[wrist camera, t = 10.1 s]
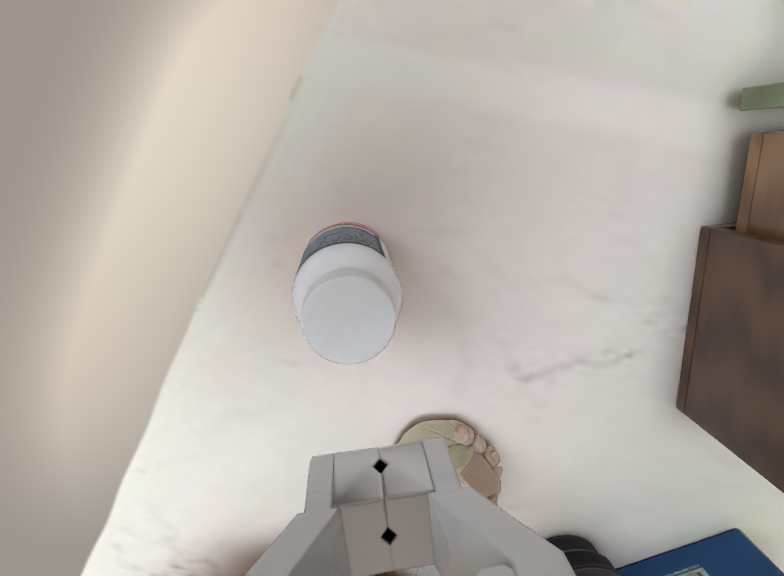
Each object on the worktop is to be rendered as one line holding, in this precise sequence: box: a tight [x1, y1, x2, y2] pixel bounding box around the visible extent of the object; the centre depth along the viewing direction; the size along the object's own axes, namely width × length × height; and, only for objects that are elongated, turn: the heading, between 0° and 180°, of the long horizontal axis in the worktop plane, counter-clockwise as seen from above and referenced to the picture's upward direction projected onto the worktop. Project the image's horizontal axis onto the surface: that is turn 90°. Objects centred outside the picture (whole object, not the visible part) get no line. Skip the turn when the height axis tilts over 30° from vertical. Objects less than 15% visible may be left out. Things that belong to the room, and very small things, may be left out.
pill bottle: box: [292, 222, 402, 364], centre depth 22 cm, size 5×5×9 cm
